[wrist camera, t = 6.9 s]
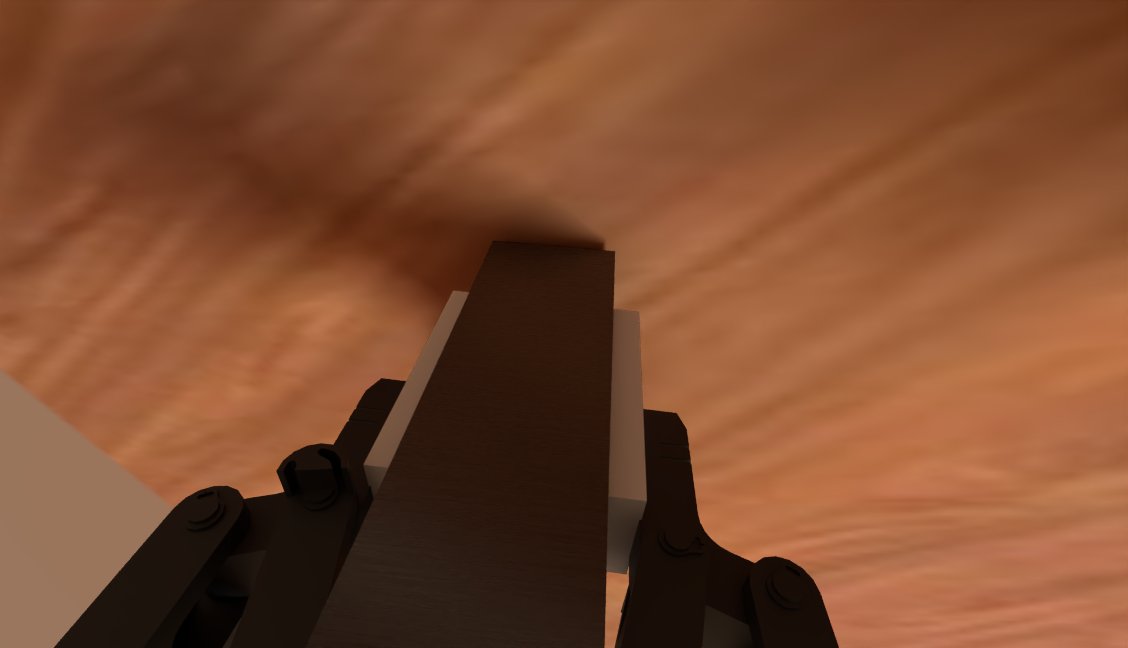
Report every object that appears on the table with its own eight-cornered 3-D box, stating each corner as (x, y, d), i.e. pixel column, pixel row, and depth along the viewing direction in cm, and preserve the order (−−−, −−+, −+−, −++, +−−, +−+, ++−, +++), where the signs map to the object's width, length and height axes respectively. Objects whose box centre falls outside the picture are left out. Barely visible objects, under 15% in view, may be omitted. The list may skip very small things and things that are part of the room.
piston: (448, 236, 17) (155, 700, 6) (661, 255, 16) (729, 778, 6) (480, 592, 30) (405, 928, 20) (598, 606, 30) (585, 955, 19)
